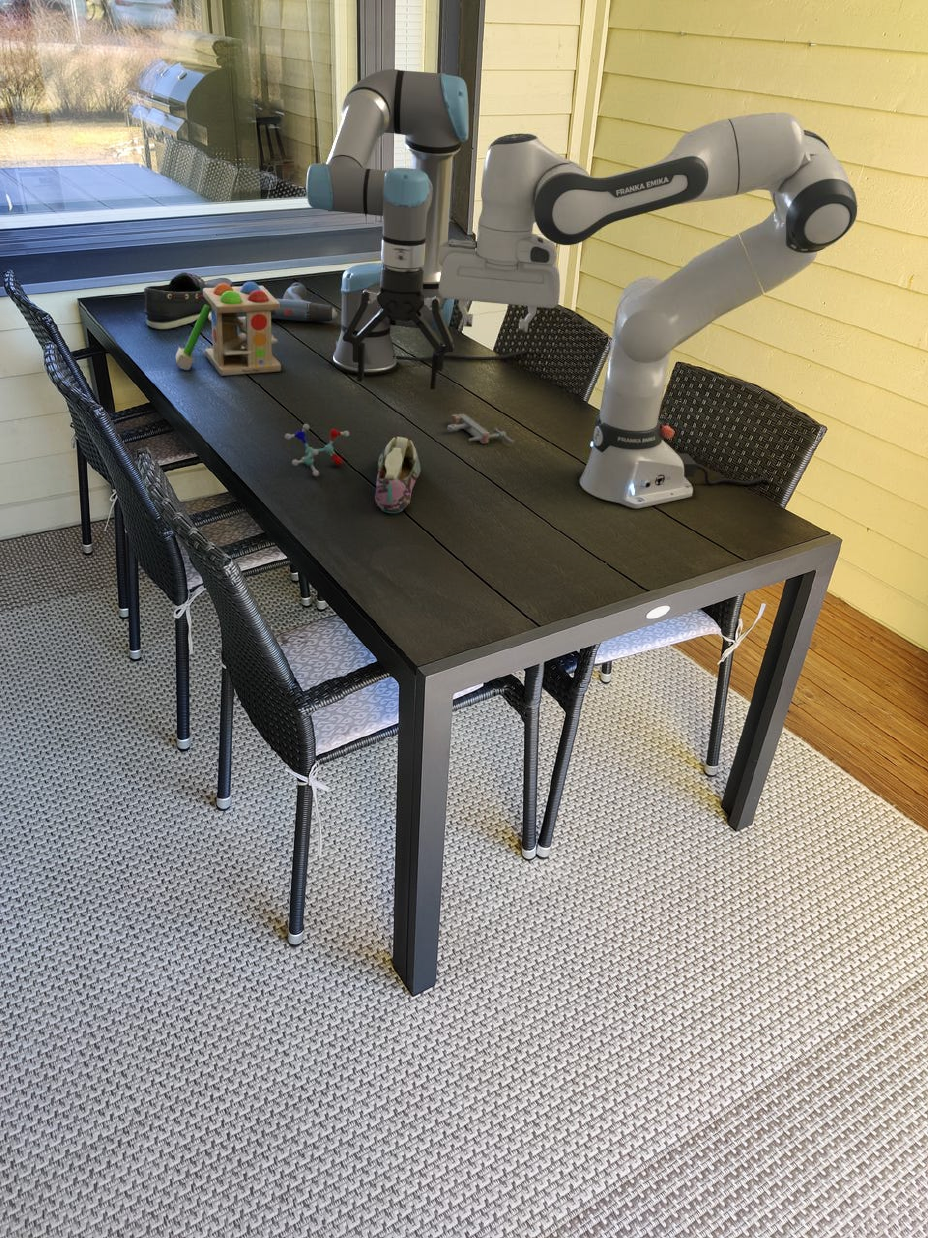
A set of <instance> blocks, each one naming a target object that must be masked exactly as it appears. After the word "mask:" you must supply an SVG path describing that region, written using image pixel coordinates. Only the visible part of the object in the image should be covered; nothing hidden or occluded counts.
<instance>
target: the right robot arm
mask: <svg viewBox="0 0 928 1238" xmlns="http://www.w3.org/2000/svg"><path fill="white" fill-rule="evenodd" d="M486 151H487V152H486V154H485V155H486V156H485V158H484V159H485V160H484V164H483V169H482V178H481V188H480V199H481V212H480V214H479V217H478V221H477V234H476V236H477V237H476V240H460V239H459V240H458V239H455V238H452V239H451V238H450V239H449V240H448V242H445V243H443V244H442V245H441V247H440V249H439V263H440V265H441V266H442V270H441V275H440V281H439V289H438V292H439V294H440V295H441V297H442V298H446V299H455V300H458V305H457V306H458V308H459V310H460V312H461V315H462V317H463V327H467V328H472V327H473V316H474V313H469V312H468V309H467V308H466V307H467V305H468V301H470V302H480V303H490V304H501V305H511V306H521V307H522V306H523V307H527V314H526V315H525V317H524V318H519V321H518V332H519V333H520V332H521V333H528V329H529V323H530V322H531V321H532V320H533V318H534V317H535V316H536V314H537V310H538V309H537V308H543V309H555V308H556V307H557V306H558V305H559V303H560V293H561V289H560V288H561V280H560V279H561V278H560V269H559V265H558V263H557V258H558V248H557V246H556V244H557V245H560V246H574V245H577V244H580V243H582V242H584V241H587V240H588V239H590V238H591V237H592V236H593V235H595V234H596V233H597V232H599V231H600V230H601V229H603V228H604V227H606V226H608V225H610V224H613V223H615V222H618V221H622V220H625V219H630V218H632V217H637V216H640V215H643V214H648V213H651V212H655V211H658V210H662V209H665V208H669V207H672V206H678V205H685V204H691V203H699V202H700V203H701V202H708V201H715V200H721V199H726V198H731V197H735V196H739V195H743V194H747V193H750V192H753V191H760V190H761V191H769V195H770V198H771V201H772V204H773V206H774V209H773V210H772V211H771V213H770V214H769V215H768V216H767V217H766V219H764V220H763V221H761V222H759V223H757V224H755V225H753V226H750V227H749V228H747V229H745V230H743V231H741V232H739V233H736V234H735V235H733V236H730V237H729V238H728V239H726V240H724V241H721V242H720V243H717V244H716V245H715V246H712V247H711V248H709V249H707V250H706V251H703V252H702V253H700V254H698V255H696V256H694V257H693V258H692V259H691V260H690V261H688V263H687V264H685V265H684V266H683V267H682V268H680V269H679V270H677V271H676V272H674V273H673V274H672V275H670V276H669V277H667V278H666V279H665V280H663V279H661V278H659V277H656V276H649V275H648V276H647V275H646V276H642V277H639V278H637V279H635V280H633V281H631V282H630V283H629V284H628V285H627V286H626V287H625V288H624V289H623V291H622V292H621V294H620V296H619V297H618V301H617V304H616V305H617V306H616V310H615V311H616V312H615V317H614V323H613V330H612V336H611V343H610V349H609V353H608V354H609V355H608V360H607V361H608V362H607V368H606V374H605V380H604V386H603V391H602V398H601V403H600V409H599V412H598V413H597V414H596V419H595V424H594V428H593V429H594V430H593V436H592V437H593V438H592V441H590V447H591V450H590V454H589V457H588V460H587V462H586V466H585V468H584V470H583V472H582V474H581V476H580V478H579V485H580V486H581V488H582V489H583V490H584V491H585V492H586V493H588V494H590V495H592V496H593V497H596V498H598V499H601V500H604V501H608V502H612V503H618V504H621V505H623V506H626V507H628V508H632V509H641V508H647V507H651V506H656V505H660V504H665V503H669V502H673V501H674V502H675V501H678V500H683V499H687V498H691V497H693V493H694V488H693V486H692V484H691V482H690V481H689V480H688V478H689V477H693V478H694V477H695V473H696V469H698V470H701V471H702V472H703V474H704V481H705V483H706V484H708V485H710V486H714V485H717V484H720V483H729V484H734V485H740V486H751V485H754V484H757V483H760V482H764V483H765V484H768V485H770V484H772V482H771V481H770V479H769V478H767V479H766V480H764V477H765V476H760V477H756V478H755V479H751V480H738V479H733V478H727V477H725V478H724V477H723V478H718V479H714V480H710V474H709V470H708V469H707V468H706V467H705V466H703V465H701V464H698V463H697V462H696V461H695V460H694V459H693V458H692V457H691V456H690V454H689V453H687V452H686V453H677V452H676V451H675V450H674V449H673V448H672V447H671V446H670V445H669V444H668V443H667V442H665V441H664V440H663V437H664V438H665V439H667V440H670V439H672V438H673V437H674V435H675V430H674V429H673V428H671V427H670V425H664V423H663V422H662V421H661V420H660V419H659V417H660V413H661V407H662V401H663V398H664V392H665V387H666V383H667V375H668V368H669V363H670V355H671V352H672V351H673V350H674V349H675V348H676V347H678V346H680V345H682V344H683V343H684V342H686V341H688V340H689V339H691V338H692V337H693V336H695V335H696V334H698V333H699V332H700V331H702V330H703V329H704V328H706V327H707V326H709V325H710V324H712V323H713V322H715V321H716V320H719V318H721V317H723V316H724V315H726V314H728V313H730V312H732V311H734V310H736V309H738V308H740V307H741V306H743V305H746V304H747V303H749V302H752V301H753V300H755V299H757V298H759V297H761V296H763V295H765V294H767V293H769V292H771V291H773V290H775V289H776V288H777V287H779V286H782V285H783V284H785V283H786V282H788V281H789V280H791V279H793V278H794V277H795V276H797V275H798V274H799V273H801V272H802V271H804V270H805V269H806V268H807V267H809V266H810V265H811V264H812V263H813V262H814V261H815V259H816V257H817V255H818V252H821V251H823V250H825V249H826V248H828V247H830V246H832V245H834V244H835V243H837V241H839V240H841V238H843V237H844V236H845V235H846V234H847V233H848V232H849V231H850V229H851V228H852V227H853V225H854V224H855V221H856V218H857V216H858V201H857V196H856V191H855V189H854V188H853V186H851V183H850V181H849V180H850V179H849V177H848V175H847V173H846V171H845V169H844V167H843V165H842V163H841V162H840V161H839V160H838V159H837V157H836V156H835V155H834V153H833V152H832V151H831V150H830V147H829V145H828V143H827V142H826V141H825V140H824V139H823V138H822V137H821V136H820V135H818V134H817V133H815V132H812V131H810V130H806V129H804V128H803V126H802V124H801V122H800V120H798V118H797V117H796V116H794V115H793V114H791V113H787V112H761V113H752V114H746V115H745V114H744V115H740V116H734V117H729V118H725V119H720V120H717V121H713V122H710V123H707V124H705V125H702V126H699V127H697V128H695V129H692V130H691V131H688V132H686V133H685V134H683V135H682V136H681V137H680V139H679V140H678V141H677V142H676V144H675V145H674V147H673V149H672V150H671V151H670V152H669V153H668V154H667V155H665V157H664V158H662V159H660V160H658V161H657V162H654V163H652V164H649V165H646V166H642V167H638V168H635V169H631V170H627V171H624V172H620V173H616V174H613V175H609V176H604V177H603V176H602V177H594V176H591V175H590V173H589V172H588V171H587V170H586V169H585V168H584V167H583V166H582V165H581V164H579V163H577V162H575V161H572V160H570V159H568V158H566V157H563V156H561V155H560V154H558V153H556V152H554V151H553V150H552V149H550V148H549V147H548V146H546V145H545V144H544V142H542V141H541V140H540V139H539V138H538V136H537V135H535V134H531V133H512V134H505V135H503V136H499V137H497V138H496V139H494V140H493V141H492V143H491V144H490V145H489V146H488V149H487V150H486ZM534 224H536V227H537V228H538V231H539V232H540V233H541V234H542V235H543V236H544V237H545V238H544V237H542V236H539V235H537V234H536V233H533V231H534V230H533V229H534ZM446 244H447V246H446ZM686 477H687V478H686Z"/></svg>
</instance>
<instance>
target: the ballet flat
mask: <svg viewBox="0 0 928 1238" xmlns="http://www.w3.org/2000/svg"><path fill="white" fill-rule="evenodd" d="M377 471H378V472H377V476H376V483H375V485H376V486H375V494H374V498H375V499H374V501H375V503H376V505H377V506H378V507H379V508H380V511H382V512H384V513H387V514H398V513H400V512H403V511H404V509H405V508H407V506H408V505H409V504H410V503H411V500H412V499H411V498H412V491H413V488H414V486H415V483H416V481H417V479H418V478H419V477H420V474H421V463H420V460H419V455H418V452H417V449H416V447H415V445H414V442H413V441H412V440H410V439H408V438H406V437H402V436H397V437H393V438H392V439H391V440H390V441H389V442H388V443H387V444H386V446H385V447H384V448H383V450H382V452H381V454H380V455H379V457H378V463H377Z"/></svg>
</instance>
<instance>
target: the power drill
mask: <svg viewBox="0 0 928 1238" xmlns="http://www.w3.org/2000/svg"><path fill="white" fill-rule="evenodd" d="M307 295H308V290H307V287H306V285H304V284H303V283H301V282H293V283H292V284H291V285H290V286H289V287H288V288H287V289H286V291H285V292H284V294H283V297H282V298H275V299H276V300H277V301H278V302H279V303H280V310H271V319H274V320H275V319H276V320H283V321H294V322H295V321H297V322H332V321H333V320H334V319H336V318H337V317H338V312H337V311H336V308H334V307H333V306H332V305H331V304H324V303H317V302H313V301H307V300H305V299H306V297H307Z"/></svg>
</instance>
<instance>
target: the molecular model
mask: <svg viewBox="0 0 928 1238" xmlns="http://www.w3.org/2000/svg"><path fill="white" fill-rule="evenodd" d="M309 430H310V425H309V424H308V423H304V424H303V425H302V429H301V430H297V432H296V433H292V434H290V433H285V435H284V438H285V440H287V441H290V440H291V439H293V438H297V439H298V440H301V442H302V443H303V445H304V447H305V450H304V452H305V453H304V454H305V456H302V457H301V458H300V459H299V460H298V459H296V458H295V459H293V460H291V465H292V466H293V467H297V466H298V465H299V464H304V465H306V466H309V467H310V469H311V471H312V475H313V476H314V477H318V476H320V472H319V470H318V469H316V468H315V466H314V462H315V459H314V457H316V456H317V455H319V453H323V452H324V453H325V454H327V455H329V456H330V458H331V459H332V460H333V461H334V465H336V466H338V467H339V466H342V464H343V458H341V457H339V456H338V455H337V453H336V452H335V450H334V446H333V443H334V440H335V438H337V437H338V436H343V437H345V438H348V437H349V436H350V432H349V430H344V431H338V429H336V428H332V429H331V430H330V432H329V435H330V436H331V437H330V439H329V443H327V444H326V445H324V447H323V448H314V447H312V446H309V444H308V442H307V440H306V432H307V431H309Z"/></svg>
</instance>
